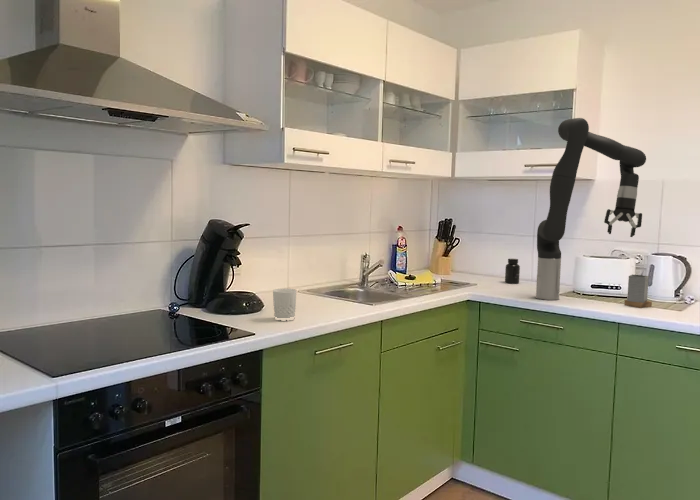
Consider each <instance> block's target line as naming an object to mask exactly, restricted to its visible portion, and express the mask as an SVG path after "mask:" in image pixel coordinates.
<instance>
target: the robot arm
mask: <svg viewBox="0 0 700 500" xmlns="http://www.w3.org/2000/svg"><path fill="white" fill-rule="evenodd" d="M589 130H590V126H589V123H588V121H587V120H586V119H585V118H584V117H576V118H575V117H573V118H567V119H565V120H563V121H562V122H560V123H559V126H558V130H557V133H558V135H559V137H560V138H561V139H562V140H563V141H566V146H565V149H564V152H563V154H562V156H561V157H560V159H559V160H558V162H557V163H556V165H555V167H554V169H553V171H552V176H551V178H550V179H551V180H550V185H549V209H548V213H547V216H546V219H544V220H542V221H541V222H540V223H539V225H538V226H537V230H536V231H537V232H536V239H537V240H536V250H537V270H536V271H537V273H536V284H535V285H536V287H535V297H536V299H539V300H546V301H556V300H560V290H561V288H560V287H561V269H562V268H561V267H562V266H561V265H562V264H561V263H562V251H561V248H560V240H562V239H563V237H564V235H565V232H566V224H567V216H568V210H569V207H570V203H571V199H572V194H573V192H574V191H573V190H574V186H575V184H576V178H577V174H578V170H579V169H578V168H579V164H580V162H581V161H580V160H581V156H582V153H583V150H584V148H588V149H590V150H593V151H595V152H597V153H599V154H602V155H603V156H605V157H607V158H609V159H612V160H614V161H619V171H620V172H619V173H620V181H619V187H618V189H617V190H618V191H617V194H616V202H615V207H614V210H613V209H606V212H605V216H604V221H603V222H604V224H606V225H607V233H608V234H609V235H612V231H613V230H612V229H613V224H614V223H615V222H617V221H619V222H623V223H624V222H625V223H629V224H630V226H631V229H630V236H629V237H630V238H633V236H635V235H636V229H638V228H641V227H642V222H643V221H642V220H643V213H641V212H639V213H638V212H635V209H636V203H637V199H638V198H637V197H638V187H639V182H640V181H639V180H640V176H639V175H638V174H637V173H635V171H634V168H639V167H642V166H644V165H645V164H646V161H647V156H646V154H645V153H644V152H643V151H642V150H641V149H638V148H636V147H631V146H629V145H624V144H623V143H620V142H619V141H616V140H614V139H612V138H610V137H608V136H607V137H606V136H603V135H600V134H596V133H594V132H590V131H589ZM612 214H613V215H614V217H613V219H611V221H610V220H609V219H610V216H611V215H612ZM634 217H635V218H636V219H637V222H636V223H637V224H636V223H635V221H634V220H633V218H634Z"/></svg>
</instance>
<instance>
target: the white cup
mask: <svg viewBox="0 0 700 500" xmlns="http://www.w3.org/2000/svg"><path fill="white" fill-rule="evenodd" d="M272 297H273V310H274V315H273V316H275V317H277V318H290V317H294V316H296V314H295V313H296V307H297V305H296V304H297V290H296V289H294V288H275V289H273V290H272ZM275 317H274V318H275Z"/></svg>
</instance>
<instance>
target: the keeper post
mask: <svg viewBox="0 0 700 500" xmlns="http://www.w3.org/2000/svg"><path fill="white" fill-rule="evenodd" d="M652 303H653V301H650V300H647V301H646V302H644V303H640V302H632V301H627V299H625V300H624V306H628V307H632V308H639V309H645V308H651V307H653V304H652Z"/></svg>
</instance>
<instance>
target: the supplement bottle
mask: <svg viewBox="0 0 700 500" xmlns="http://www.w3.org/2000/svg"><path fill="white" fill-rule="evenodd" d="M518 263H519V259H518V258H508V259H507V264H506V265H505V273H504V274H505V276H504V282H505V284H510V285H511V284H512V285H513V284H514V285H515V284H516V285H517V284H519V283H520V272H521V266H520V265H519V264H518Z"/></svg>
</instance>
